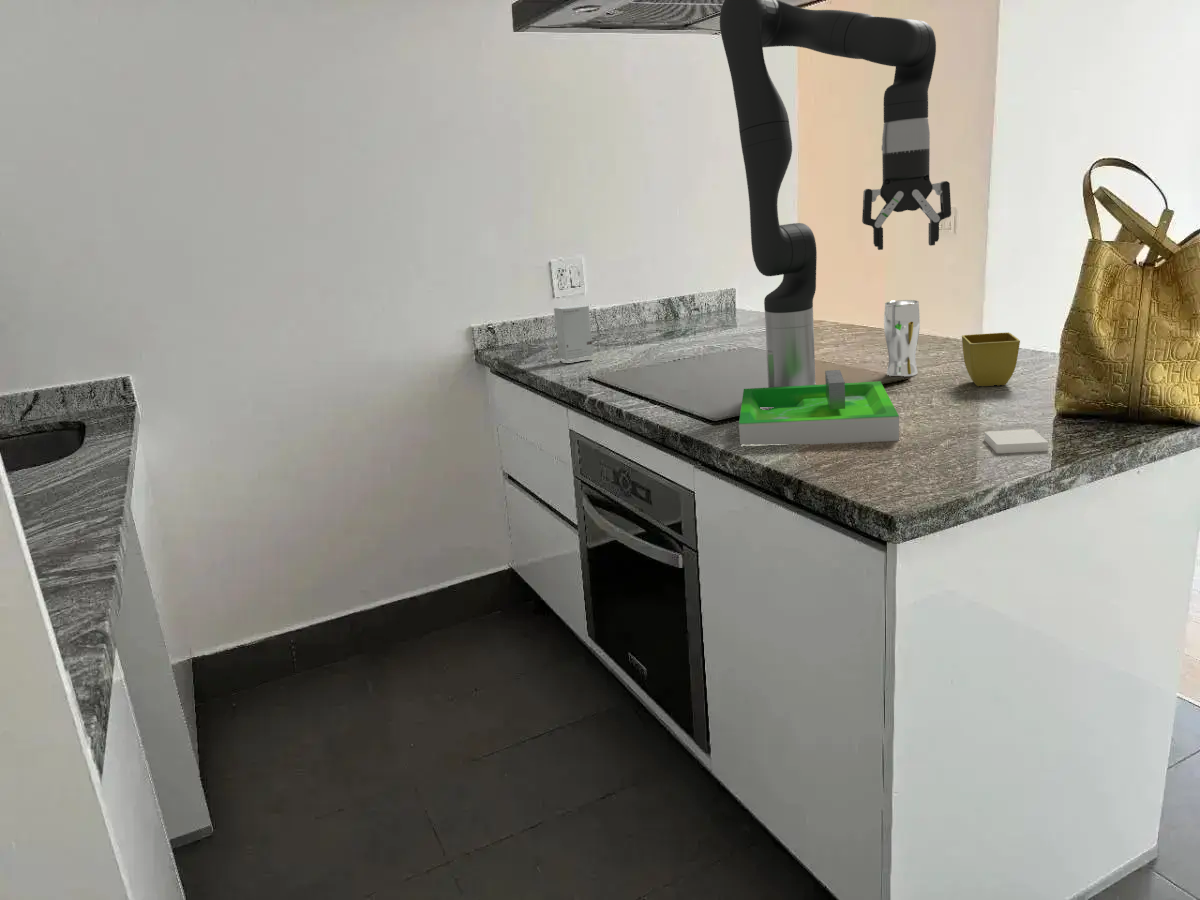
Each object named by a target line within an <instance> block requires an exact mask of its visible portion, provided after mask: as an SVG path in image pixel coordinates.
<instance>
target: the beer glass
mask: <svg viewBox="0 0 1200 900" xmlns="http://www.w3.org/2000/svg"><path fill="white" fill-rule="evenodd" d="M919 303H920V302H919V300H917V299H916V300H914V299H899V300H891V301H887V302H885V303H884V315H883V331H884V336H885V337H884V338H885V344H886V348H887V353H888V363H887V364H888V365H887V369H886V375H887V376H888V375H889V376H888V377H891V376H904V377H903V378H910V377H914V376H916V375H918V366H917V362H916V361H917V360H916V359H917V358H916V355H917V354H916V353H917V345H918V341H919V337H920V329H921V328H920V327H921V325H920V324H921V319H920V317H921V316H920V314H921V313H920V305H919Z"/></svg>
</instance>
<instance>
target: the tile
mask: <svg viewBox="0 0 1200 900" xmlns="http://www.w3.org/2000/svg"><path fill="white" fill-rule="evenodd" d="M983 436H984V437H983V438H984V439H983V440H984V441H985V443H987V444H988V446H989V447H990V448H991V449H993V450H994V452H995V453H996V454H1011V453H1030V452H1031V453H1035V452H1049V444H1050V443H1049V441H1048V440H1047V439H1046V438H1044V437H1043V436H1042V435H1040V434H1039V433H1038V432H1037V431H1036V430H1035V429H1034V428H1032V429H1031V428H1030V429H1027V428H1026V429H1011V430H1009V429H1008V430H993V431H989V430H988V431H984V435H983Z"/></svg>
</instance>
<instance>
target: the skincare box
mask: <svg viewBox="0 0 1200 900" xmlns="http://www.w3.org/2000/svg"><path fill="white" fill-rule="evenodd" d="M553 313H554V323H555V331H556V342H557V352H558V359H559V358H562V359H565V360H568V359H574V358H579V357H584V356H591V355H593V356H594V353H593V340H592V329H591V316H590V307H589V305H585V304H578V305H577V304H576V305H567V306H560V307H554V308H553Z"/></svg>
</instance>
